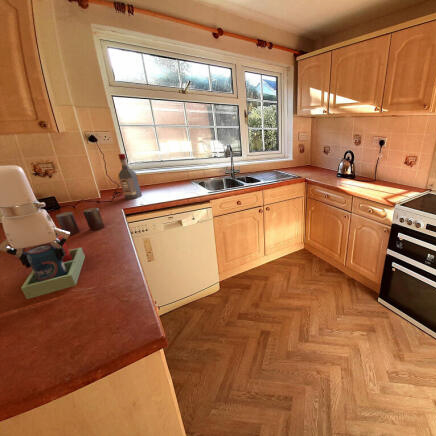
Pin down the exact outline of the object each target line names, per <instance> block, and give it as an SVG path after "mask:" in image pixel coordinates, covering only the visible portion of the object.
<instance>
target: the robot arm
mask: <svg viewBox="0 0 436 436" xmlns="http://www.w3.org/2000/svg"><path fill="white" fill-rule="evenodd" d="M45 207H46V203H45V201H44V202H40V201H39V200H38V199H37V198H36V196H35V193H34V191H33V189H32V186H31V185H30V182H29V180H28V177H27V175H26V173H25V171H24V169H23V168H22V167H21V166H20V165H19V166H18V165H13V164H12V165H8V164H7V165H0V212H1V213H2V217H1V223H2V227H3V232H4V235H5V237H6V238H5V240H4V241H2V243H0V251H2V252H3V253H4V252H5V253H7V254H8V255H11V256H15V257H16V258H19V260H20V262H21V264H22V266H25V269H30V268H31V266H30V264H29V262H28V260H27V254H28V253H27V251H26V249H27V248H33V247H36V246H38V245H42V244H47V243H50V244H51V245H53V246H54V247H55V248H56V249H55V252H56V254H57V256H58V258H59V260H63V258H64V256H65V255H66V254H65V251H64V249H63V247H62V246H63V244H64V243H66V242H67V240H68V239H69V237H71V236H70V232H67V231H64V230H61V228H58V227H57V226H56V224H55V223H54V221H53V219H52V217H51V216H50V214H49V213H48V212H47V210H46V209H44V208H45ZM59 234H60V235H62V236H63V238H62V239H61V240H58V239H57V238H56V237H58V236H59ZM8 245H10V246H8Z"/></svg>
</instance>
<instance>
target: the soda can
mask: <svg viewBox="0 0 436 436" xmlns="http://www.w3.org/2000/svg"><path fill="white" fill-rule="evenodd" d="M55 249H56V248H55V247H53V245H51V244H44V245H39V246H38V245H37V246H32V247H30V248H29V249H28V250H27V251H26V252H27V253H28V254H27V260H28V262H29V264H30V266H31V267H30V268H31V269H32V270H33V271H34V273H35V275H36V277H37V279H38V281H39V282H41V281H45V280H49V279H53V278H56V277H60V276H64V275H67V270H66V268H65V266H64V264H63V261H62V260H59V258H58V256H57V254H56V252H55ZM32 270H31V271H32Z"/></svg>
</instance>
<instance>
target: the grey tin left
mask: <svg viewBox="0 0 436 436" xmlns="http://www.w3.org/2000/svg"><path fill="white" fill-rule="evenodd" d="M55 218H56V220H57V222H58V225H59V226H60V229H61V230H64V231H67V232H70V236H69V237H71V236H75V235H78V234H79V233H80V232H81V231H80V228H79V225H78V223H77V221H76V218H75V216H74V213H73V212H72V211H65V212H61V213H58V214H56V215H55Z"/></svg>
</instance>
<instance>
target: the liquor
mask: <svg viewBox="0 0 436 436" xmlns="http://www.w3.org/2000/svg"><path fill="white" fill-rule="evenodd" d="M118 159H119V161H120V164H121V170H120V171H119V173H118V179H119V182H120V186H121V189H122V192H123V196H124V198H125V199H126V200H134V199H138V198H141V197H142V196H143V195H142V190H141V186H140V182H139V179H138V175H137V173H136V171H134V170H133V169H132V168H130V167H129V165H128V162H127V158H126V154H125V153H118Z"/></svg>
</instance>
